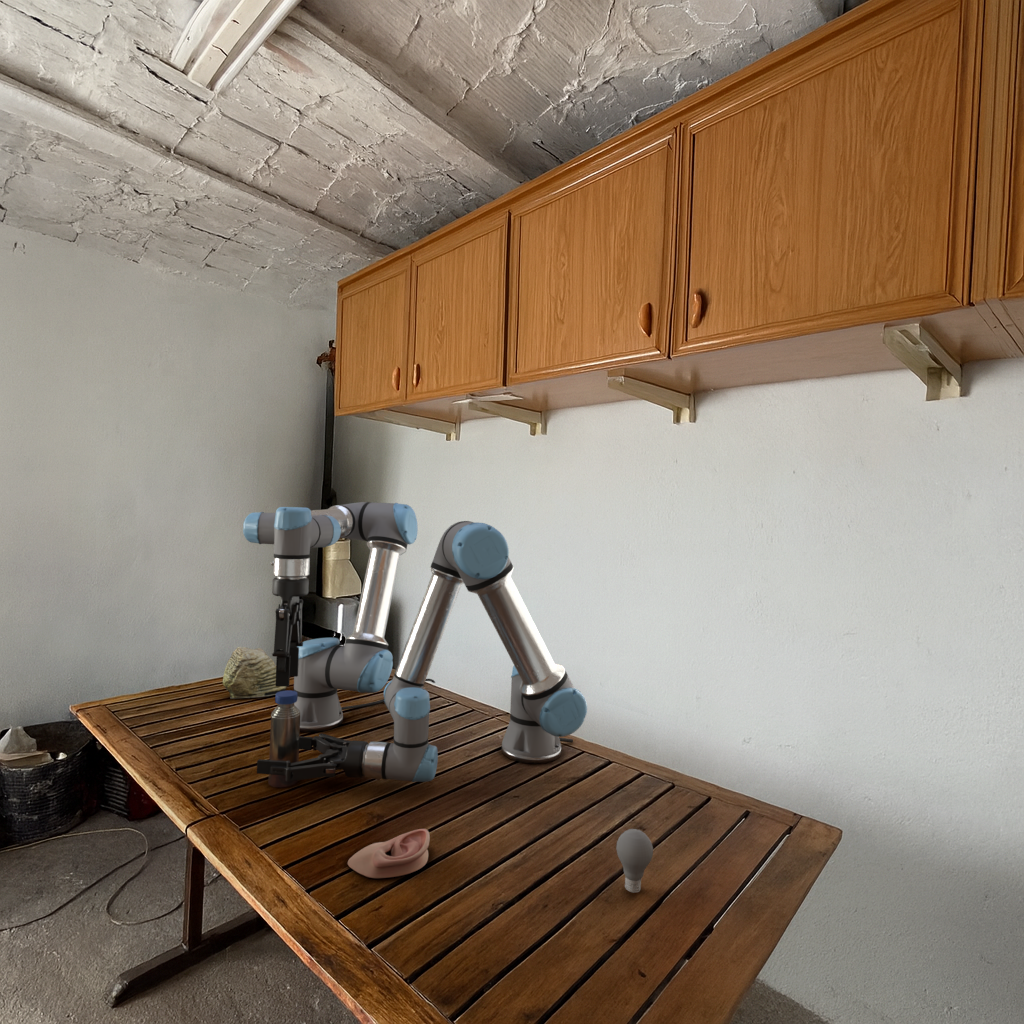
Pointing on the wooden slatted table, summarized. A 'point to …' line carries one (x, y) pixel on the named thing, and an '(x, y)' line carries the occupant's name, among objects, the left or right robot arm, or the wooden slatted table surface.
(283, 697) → the cap
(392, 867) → the anatomical model
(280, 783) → the bottle
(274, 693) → the fossil
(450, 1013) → the wooden slatted table surface
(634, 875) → the light bulb
